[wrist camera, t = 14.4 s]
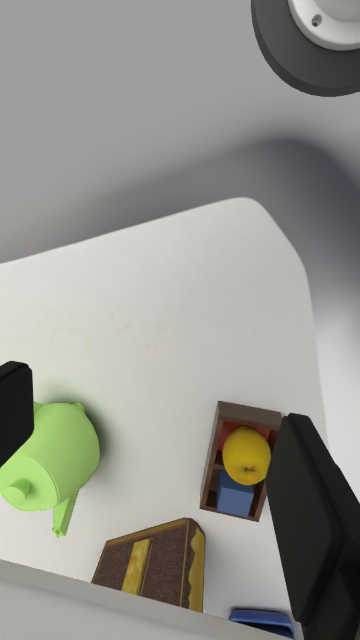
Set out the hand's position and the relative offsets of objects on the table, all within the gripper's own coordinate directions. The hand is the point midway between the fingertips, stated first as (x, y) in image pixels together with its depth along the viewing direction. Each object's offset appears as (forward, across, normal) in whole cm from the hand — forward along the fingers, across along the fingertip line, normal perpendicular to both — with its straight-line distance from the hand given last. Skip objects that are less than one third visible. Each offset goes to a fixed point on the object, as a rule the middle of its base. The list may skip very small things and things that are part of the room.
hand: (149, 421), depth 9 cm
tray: (+26, -10, +24) cm, 37 cm away
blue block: (+26, -10, +28) cm, 40 cm away
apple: (+26, -10, +20) cm, 34 cm away
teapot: (+26, +18, +26) cm, 41 cm away
